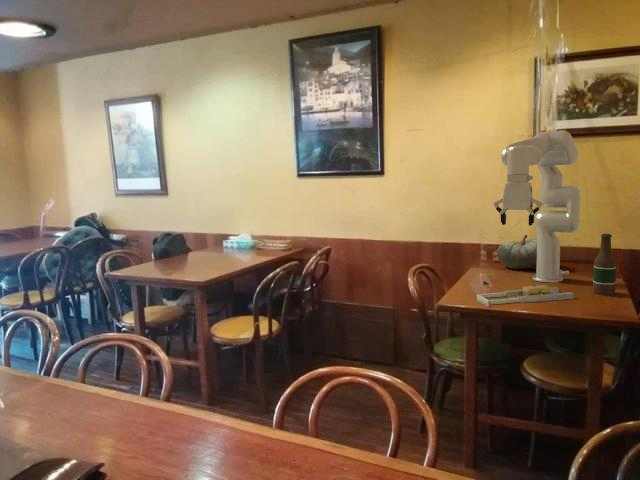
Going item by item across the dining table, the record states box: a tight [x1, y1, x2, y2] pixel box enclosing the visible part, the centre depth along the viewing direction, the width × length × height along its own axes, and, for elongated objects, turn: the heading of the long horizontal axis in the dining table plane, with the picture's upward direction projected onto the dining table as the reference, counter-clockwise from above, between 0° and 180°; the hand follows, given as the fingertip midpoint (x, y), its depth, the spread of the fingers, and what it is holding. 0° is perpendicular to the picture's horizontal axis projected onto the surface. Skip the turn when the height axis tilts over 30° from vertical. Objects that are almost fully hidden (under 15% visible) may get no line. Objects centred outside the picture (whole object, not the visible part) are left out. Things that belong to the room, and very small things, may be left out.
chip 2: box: [535, 284, 552, 295], centre depth 189 cm, size 4×4×4 cm
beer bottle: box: [592, 233, 617, 296], centre depth 192 cm, size 8×8×24 cm
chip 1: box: [522, 285, 538, 296], centre depth 188 cm, size 4×4×4 cm
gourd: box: [496, 234, 537, 270], centre depth 249 cm, size 25×25×17 cm
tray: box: [475, 291, 520, 308], centre depth 186 cm, size 12×10×2 cm
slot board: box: [504, 286, 575, 304], centre depth 189 cm, size 22×12×3 cm, turn 98°
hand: (517, 224), depth 183 cm, fingers open, 9 cm apart
